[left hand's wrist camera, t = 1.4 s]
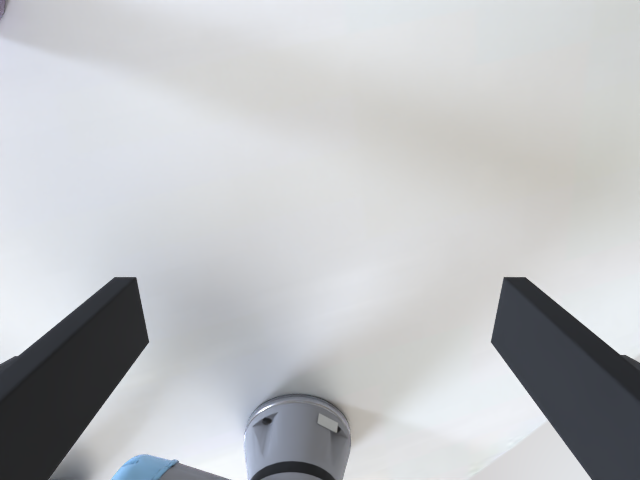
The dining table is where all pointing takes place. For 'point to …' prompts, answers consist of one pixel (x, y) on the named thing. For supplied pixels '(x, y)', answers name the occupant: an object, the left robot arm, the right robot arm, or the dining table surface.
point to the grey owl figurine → (2, 7)
